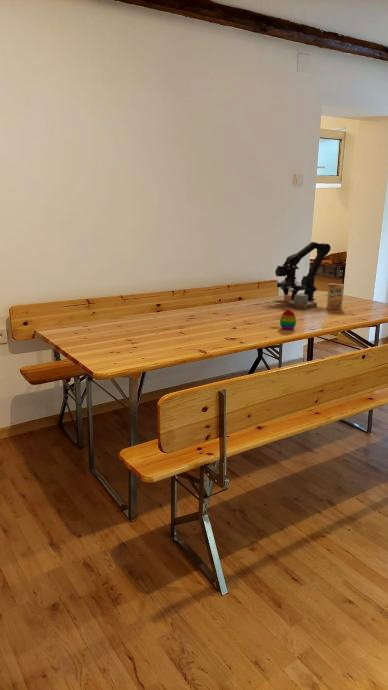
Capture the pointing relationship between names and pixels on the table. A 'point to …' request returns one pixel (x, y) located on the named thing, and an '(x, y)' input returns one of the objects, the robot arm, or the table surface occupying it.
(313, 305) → the walnut plinth
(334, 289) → the candy box
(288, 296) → the terracotta cube
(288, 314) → the decorative egg
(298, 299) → the grey block
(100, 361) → the table surface
